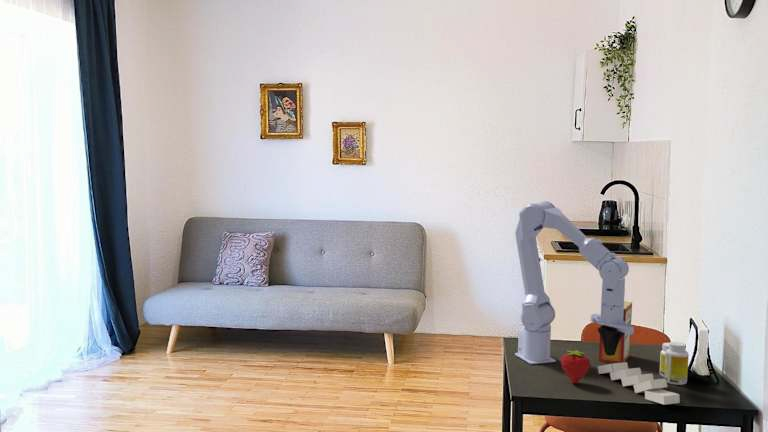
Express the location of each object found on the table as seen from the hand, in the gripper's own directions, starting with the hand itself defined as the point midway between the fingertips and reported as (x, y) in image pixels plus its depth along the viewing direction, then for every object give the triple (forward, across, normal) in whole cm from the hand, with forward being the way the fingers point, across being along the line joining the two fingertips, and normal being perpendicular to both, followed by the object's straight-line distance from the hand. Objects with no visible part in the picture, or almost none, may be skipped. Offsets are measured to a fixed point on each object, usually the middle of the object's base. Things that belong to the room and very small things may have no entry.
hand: (610, 354), depth 204 cm
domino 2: (+4, +9, -1) cm, 10 cm away
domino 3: (+4, +14, -1) cm, 14 cm away
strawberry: (+6, +2, -13) cm, 14 cm away
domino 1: (+5, +4, 0) cm, 6 cm away
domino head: (+4, -2, 0) cm, 5 cm away
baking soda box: (+6, -11, +11) cm, 17 cm away
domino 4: (+4, +18, -2) cm, 18 cm away
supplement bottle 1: (+6, +6, +14) cm, 17 cm away
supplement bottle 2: (+6, +11, +12) cm, 17 cm away
